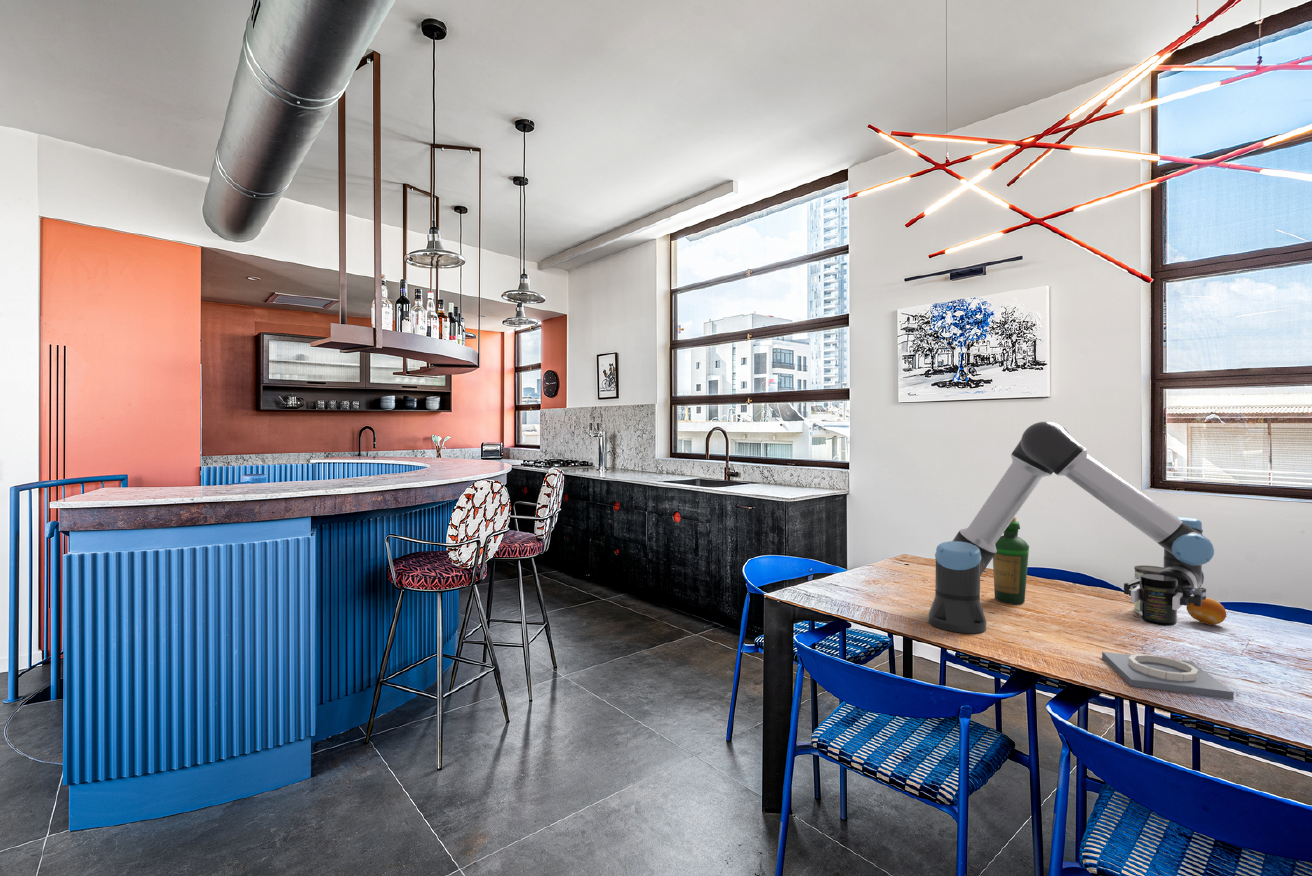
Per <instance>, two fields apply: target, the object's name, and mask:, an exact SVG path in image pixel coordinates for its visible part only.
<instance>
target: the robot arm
mask: <svg viewBox="0 0 1312 876" xmlns="http://www.w3.org/2000/svg"><path fill="white" fill-rule="evenodd" d="M1087 451H1088V450H1087V448H1086V447H1084V446H1083V445H1081V443H1079V441H1077V440H1075V439H1074V438H1073V437H1072V435H1070V433H1069V431H1068V429H1066V428H1065V427H1064V426H1062V425H1061V424H1060V423H1056V422H1053V421H1040V422H1039V421H1038V422H1036V423H1033V424H1032V425H1030V426H1028V427H1027V428H1026V429H1025V430H1024V431H1023V433H1022V435H1021V439H1020V440H1019V442H1018V443H1017V445H1016V446H1015V447H1014V449H1013V451H1012V452H1011V454H1010V457H1011V460H1012V462H1011V463H1010V464H1009V467H1008V468H1007V470H1006V471H1005V473H1004V474H1003V475H1002V477H1001V479H1000V480H999V481H998V483H997V484H996V486H995V487H994V489H993V491H991V493H990V495H989V496H988V498H987V499H986V500H985V502H984V504H983V505H982V506H981V507H980V509H979V511H978V512H977V514H976V515H975V517H974V518H973V520H972V521H971V523H970V524H969V525H968V527H967V528H962V529H959V531H958V532H957V533H956V535H955V536H954V538H953V539H952V541H944V542H941V543H939V544H938V545H937V546H936V549H935V550H936V551H935V553H934V554H935V555H934V556H935V583H934V584H935V587H934V588H935V591H934V593H935V595H934V598H933V601H932V604H931V606H930V609H929V611H928V616H927V617H928V620H927V621H928V623H929V624H930V625H932V626H933V627H936V628H938V629H941V630H944V631H949V632H954V633H959V634H961V633H964V634H980V633H984V632H986V630H987V619H986V616H985V613H984V610H983V608H982V604H981V576H982V574H983V573H984V572H985V571H986V568H987V567H988V565H989V564H990V563H991V561H993V557H994V555H995V554H996V552H997V549H996V546H995V544H996V542H997V541H998V540H999V538H1000V537H1001V536H1003V535H1004V531H1005V530H1006V528H1007V527H1008V525H1009V524H1010V523H1011V521H1012V520H1013V518H1014V517H1016V515H1017V514H1018V513H1019V511H1020V510H1021V508H1022V507H1023V506H1024V504H1025V502H1026V501H1027V500H1028V499H1029V497H1030V496H1031V494H1032V493H1033V492H1034V490H1035V489H1036V487H1037V486H1038V484H1039V483H1040V481H1041V480H1042V479H1043V478H1045V477H1050V476H1052V475H1053V473H1054V474H1055V475H1056V476H1059V477H1060V476H1063V477H1066V478H1067V479H1068V480H1071V482H1073V483H1075V484H1076V485H1078V486H1079V487H1080V488H1081V489H1082V490H1084V491H1085V492H1086V493H1088V494H1089V495H1090V496H1092V497H1094V498H1095V499H1096V500H1097V501H1099V502H1100V503H1102V504H1103V505H1104V506H1106V507H1107V508H1109V509H1110V510H1111V511H1113V512H1114V513H1116V514H1117V515H1118V516H1120V518H1122V519H1123V520H1125V521H1127V522H1128V523H1129V524H1130V525H1132V526H1133V527H1135V528H1137V530H1139V531H1140V532H1142V533H1143V534H1144V535H1146V536H1147V537H1149V538H1150V539H1151V540H1152V541H1154V542H1156V543H1157V544H1158V545H1159V546H1161V547H1162V548H1163V554H1164V555H1163V567H1164V570H1162V571H1161V572H1160V573H1158V574H1157V575H1163V576H1169V577H1173V578H1176V579H1177V586H1178V587H1177V594H1176V595H1175V596H1174V597H1173V603H1172V610H1177V611H1178V610H1179V609H1180V608H1181V607H1182V606H1185V607H1187V605H1190V603H1193V604H1194V605H1195V606H1198V607H1200V606H1201V604H1202V600H1204V599H1206V597H1207V589H1206V588H1205V587H1202V585H1203V584H1204V580H1205V575H1204V571H1203V570H1202V569H1203V566H1202V565H1206V564H1207V563H1209V562H1210V561H1211V560H1212V559H1213V557H1214V555H1215V548H1214V546H1213V543H1212V542H1211V540H1210V539H1208V538H1207V537H1206V536H1204V535H1203V532H1204V530H1203V525H1202V521H1201V520H1200V519H1198V518H1193V517H1192V518H1191V517H1182V516H1181V517H1179V516H1175V515H1174V514H1172V513H1171V512H1169V510H1167V509H1165V508H1164V507H1162V506H1161V505H1160V504H1158V503H1157V502H1155V501H1154V500H1152V499H1151V498H1150V497H1149V496H1147V495H1145V494H1144V493H1143V492H1142V491H1140V490H1138V489H1137V488H1136V487H1134V486H1133V485H1131V484H1130V483H1128V482H1127V481H1126V480H1124V479H1123V478H1122V477H1120V476H1119V475H1117V474H1116V473H1115V472H1113V471H1112V470H1110V469H1109V468H1108V467H1105V466H1104V465H1103V464H1102V463H1100V462H1099V461H1098V460H1096V459H1094V458H1093V457H1092V456H1090V455H1089V454H1088V452H1087ZM1123 594H1124V595H1128V596H1129V597H1130V603H1132V604H1134V603H1136V602H1137V601H1138V600H1140V578H1135V577H1134V578H1133V580H1130V581H1127V582H1125V583H1123Z"/></svg>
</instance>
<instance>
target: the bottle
mask: <svg viewBox="0 0 1312 876" xmlns="http://www.w3.org/2000/svg"><path fill="white" fill-rule="evenodd" d="M1020 529H1021V525H1020V522H1019V521H1017V517H1016V516H1015V517H1014V518H1013V520H1012V521H1011V523H1010V524H1009V525H1008V527H1007V528H1006V530H1005V531H1004V533H1003V534H1002V535H1001V537H1000V538H999V540H998V541H997V542H996V544H995V546H996V549H997V552H996V554H995V555H994V557H993V558H992V566H993V567H992V568H993V588H994V599H995V600H997V601H998V602H1001V603H1004V604H1009V605H1022V604H1024V603H1025V601H1026V600H1025V599H1026V591H1027V590H1026V589H1027V578H1028V565H1029V552H1030V546H1029V543H1027V541H1026V540H1025V539H1023V538H1022V537H1020V536H1018V535H1019V530H1020Z"/></svg>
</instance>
